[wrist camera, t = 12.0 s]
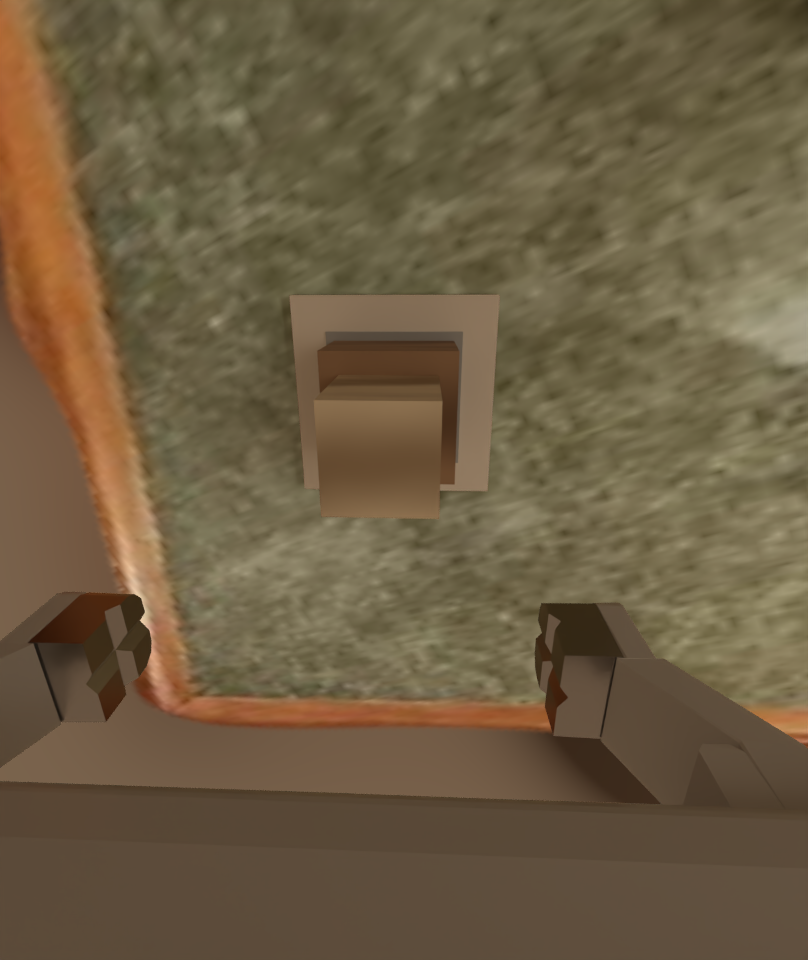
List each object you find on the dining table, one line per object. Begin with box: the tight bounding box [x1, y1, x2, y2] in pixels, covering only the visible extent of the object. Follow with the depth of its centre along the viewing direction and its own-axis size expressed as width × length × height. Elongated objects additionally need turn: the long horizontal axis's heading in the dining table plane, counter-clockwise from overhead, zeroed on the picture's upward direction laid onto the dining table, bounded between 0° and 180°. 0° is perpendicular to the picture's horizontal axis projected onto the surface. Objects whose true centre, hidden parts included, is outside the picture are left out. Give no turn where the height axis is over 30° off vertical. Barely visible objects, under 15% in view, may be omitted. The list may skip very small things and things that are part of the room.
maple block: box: [314, 375, 443, 519], centre depth 23 cm, size 5×5×6 cm
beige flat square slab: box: [289, 295, 500, 491], centre depth 31 cm, size 12×12×1 cm
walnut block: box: [317, 341, 460, 484], centre depth 28 cm, size 7×7×5 cm
